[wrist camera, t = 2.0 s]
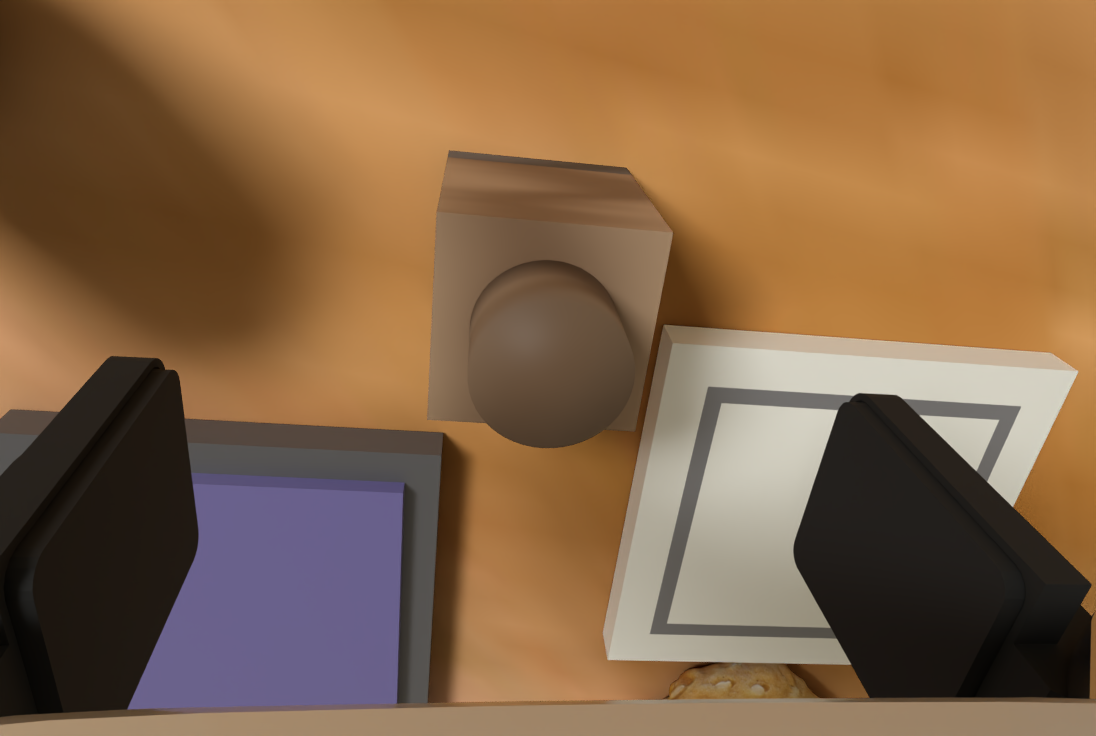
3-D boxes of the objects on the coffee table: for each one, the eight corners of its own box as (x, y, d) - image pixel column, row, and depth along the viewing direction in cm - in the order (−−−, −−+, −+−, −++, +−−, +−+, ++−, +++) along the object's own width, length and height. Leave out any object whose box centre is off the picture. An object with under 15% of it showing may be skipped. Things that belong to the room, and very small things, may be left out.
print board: (1050, 353, 23) (1078, 371, 22) (919, 640, 28) (936, 666, 27) (663, 324, 21) (672, 343, 20) (602, 633, 27) (607, 660, 26)
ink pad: (443, 432, 23) (440, 465, 21) (427, 707, 28) (424, 749, 27) (10, 409, 21) (-26, 442, 20) (82, 703, 27) (58, 747, 25)
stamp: (626, 167, 19) (699, 268, 13) (601, 327, 21) (652, 486, 15) (449, 150, 19) (429, 246, 12) (440, 315, 21) (420, 474, 14)
